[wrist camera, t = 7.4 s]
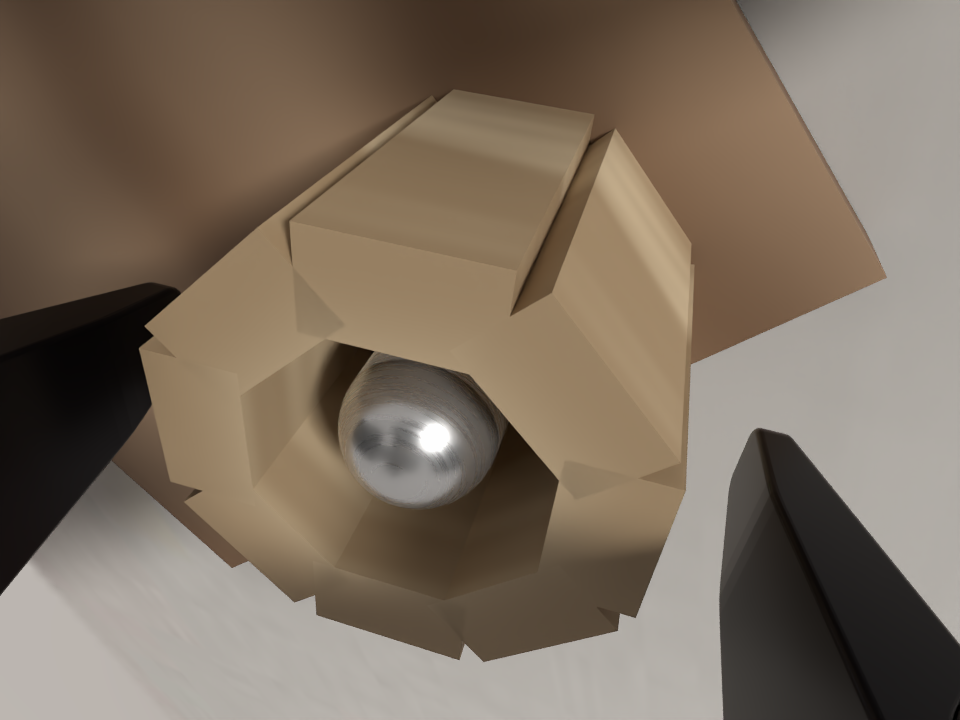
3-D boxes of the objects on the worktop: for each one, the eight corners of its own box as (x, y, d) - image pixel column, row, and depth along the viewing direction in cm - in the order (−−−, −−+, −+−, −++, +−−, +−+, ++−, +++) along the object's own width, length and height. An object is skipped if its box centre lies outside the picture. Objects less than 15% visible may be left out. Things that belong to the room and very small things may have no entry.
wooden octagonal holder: (535, 7, 9) (405, 98, 5) (753, 338, 11) (779, 593, 7) (271, 231, 12) (66, 395, 8) (475, 461, 14) (385, 684, 10)
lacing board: (255, -856, 7) (160, -1011, 6) (868, 235, 11) (886, 277, 10) (-169, 127, 16) (-240, 146, 15) (260, 527, 20) (231, 568, 19)
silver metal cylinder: (508, 201, 11) (393, 382, 7) (580, 298, 12) (512, 515, 8) (419, 262, 12) (275, 450, 8) (490, 347, 13) (388, 562, 9)
